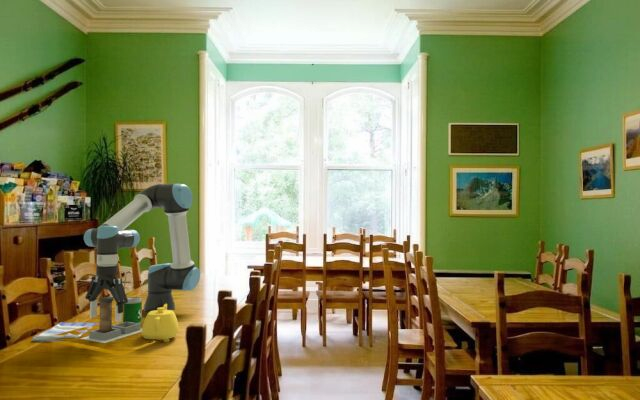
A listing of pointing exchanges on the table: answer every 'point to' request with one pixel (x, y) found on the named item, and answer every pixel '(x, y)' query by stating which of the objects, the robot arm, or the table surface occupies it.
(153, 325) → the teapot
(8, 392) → the table surface
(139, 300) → the soda can
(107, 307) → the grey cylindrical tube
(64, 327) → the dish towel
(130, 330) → the board
